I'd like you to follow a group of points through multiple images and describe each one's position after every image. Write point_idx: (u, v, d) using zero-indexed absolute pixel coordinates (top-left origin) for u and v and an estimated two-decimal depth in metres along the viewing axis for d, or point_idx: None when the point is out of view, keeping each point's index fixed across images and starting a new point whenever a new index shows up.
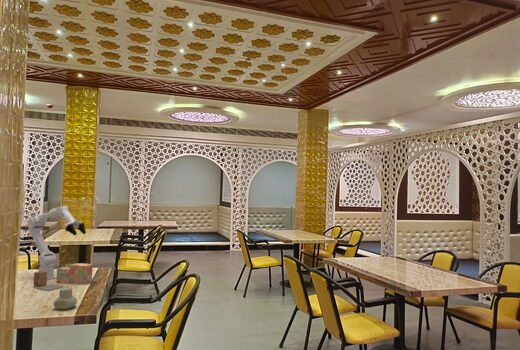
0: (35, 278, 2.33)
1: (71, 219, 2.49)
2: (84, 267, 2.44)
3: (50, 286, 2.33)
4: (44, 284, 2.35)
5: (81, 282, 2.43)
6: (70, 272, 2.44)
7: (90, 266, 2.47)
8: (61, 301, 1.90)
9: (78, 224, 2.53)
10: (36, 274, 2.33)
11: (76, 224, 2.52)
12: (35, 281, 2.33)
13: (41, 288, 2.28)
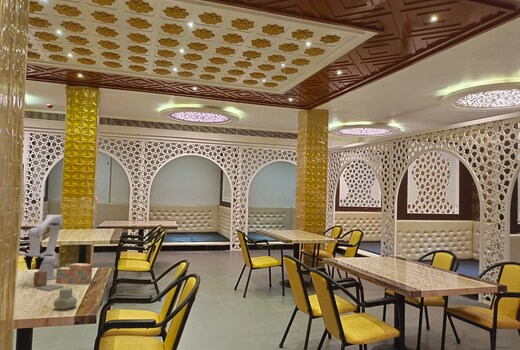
0: (35, 278, 2.33)
1: (29, 250, 2.36)
2: (84, 267, 2.43)
3: (50, 286, 2.33)
4: (44, 284, 2.35)
5: (81, 282, 2.43)
6: (69, 272, 2.44)
7: (90, 266, 2.47)
8: (61, 301, 1.90)
9: None
10: (36, 274, 2.33)
11: None
12: (35, 281, 2.33)
13: (41, 288, 2.28)
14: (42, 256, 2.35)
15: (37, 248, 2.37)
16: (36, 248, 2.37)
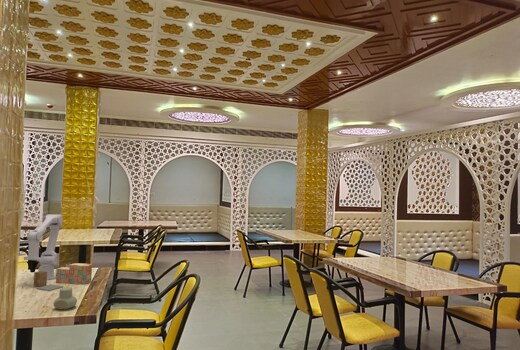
0: (35, 278, 2.33)
1: (28, 254, 2.36)
2: (83, 267, 2.43)
3: (50, 286, 2.33)
4: (44, 284, 2.35)
5: (80, 282, 2.43)
6: (69, 272, 2.44)
7: (89, 266, 2.47)
8: (61, 301, 1.90)
9: None
10: (36, 274, 2.33)
11: None
12: (35, 281, 2.33)
13: (41, 288, 2.28)
14: (41, 260, 2.35)
15: (36, 252, 2.37)
16: (35, 252, 2.36)
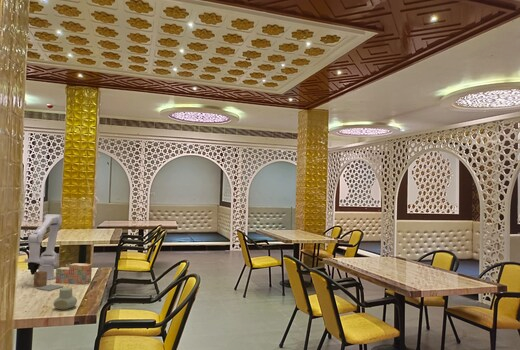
0: (35, 278, 2.33)
1: (29, 257, 2.36)
2: (83, 267, 2.43)
3: (50, 286, 2.33)
4: (44, 284, 2.35)
5: (80, 282, 2.43)
6: (69, 272, 2.44)
7: (89, 266, 2.47)
8: (61, 301, 1.90)
9: (37, 262, 2.36)
10: (36, 274, 2.33)
11: None
12: (35, 281, 2.33)
13: (41, 288, 2.28)
14: (41, 262, 2.35)
15: (37, 254, 2.37)
16: (36, 254, 2.36)
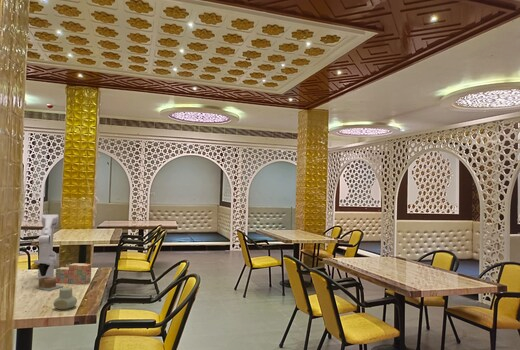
0: (44, 281, 2.30)
1: (39, 258, 2.33)
2: (83, 267, 2.43)
3: None
4: None
5: (80, 282, 2.43)
6: (69, 272, 2.44)
7: (89, 266, 2.47)
8: (61, 301, 1.90)
9: (47, 263, 2.33)
10: (47, 283, 2.29)
11: None
12: (42, 281, 2.31)
13: (41, 288, 2.28)
14: (51, 264, 2.32)
15: (46, 255, 2.34)
16: (45, 255, 2.33)
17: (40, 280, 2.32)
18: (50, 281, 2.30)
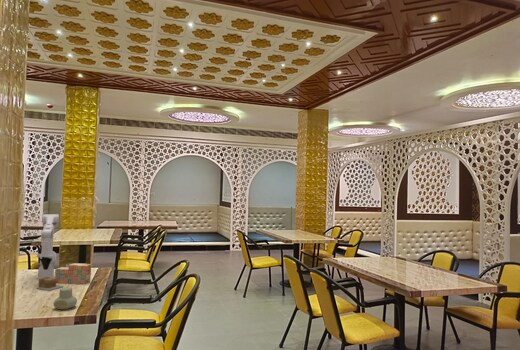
0: (44, 281, 2.30)
1: (41, 251, 2.36)
2: (83, 267, 2.43)
3: None
4: None
5: (80, 282, 2.43)
6: (68, 272, 2.44)
7: (89, 266, 2.47)
8: (61, 301, 1.90)
9: (50, 257, 2.36)
10: (47, 283, 2.29)
11: None
12: (42, 281, 2.31)
13: (41, 288, 2.28)
14: (54, 257, 2.35)
15: (49, 249, 2.37)
16: (48, 249, 2.36)
17: (40, 280, 2.32)
18: (50, 281, 2.30)
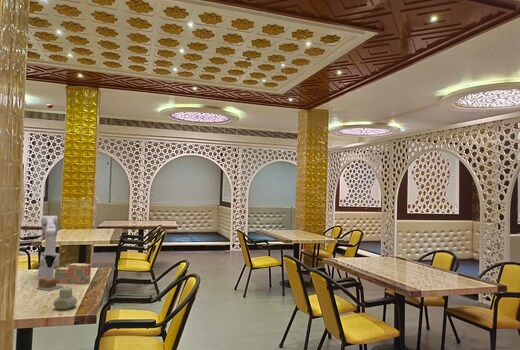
0: (44, 281, 2.30)
1: (45, 250, 2.42)
2: (82, 267, 2.43)
3: None
4: None
5: (79, 282, 2.43)
6: (68, 272, 2.44)
7: (88, 266, 2.47)
8: (61, 301, 1.90)
9: (54, 255, 2.42)
10: (47, 283, 2.29)
11: None
12: (42, 281, 2.31)
13: (41, 288, 2.28)
14: (58, 255, 2.41)
15: (53, 248, 2.43)
16: (52, 248, 2.42)
17: (40, 280, 2.32)
18: (50, 281, 2.30)
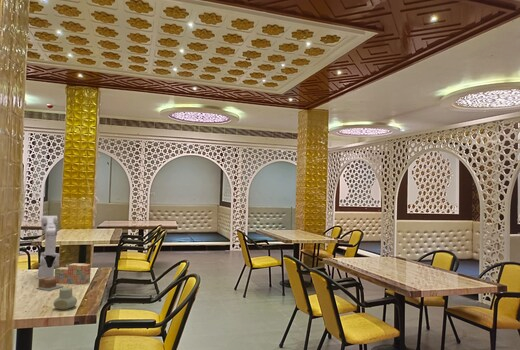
0: (44, 281, 2.30)
1: (45, 250, 2.42)
2: (82, 267, 2.43)
3: None
4: None
5: (79, 282, 2.43)
6: (68, 272, 2.44)
7: (88, 266, 2.47)
8: (61, 301, 1.90)
9: (54, 255, 2.42)
10: (47, 283, 2.29)
11: None
12: (42, 281, 2.31)
13: (41, 288, 2.28)
14: (58, 255, 2.41)
15: (53, 248, 2.43)
16: (52, 248, 2.42)
17: (40, 280, 2.32)
18: (50, 281, 2.30)
